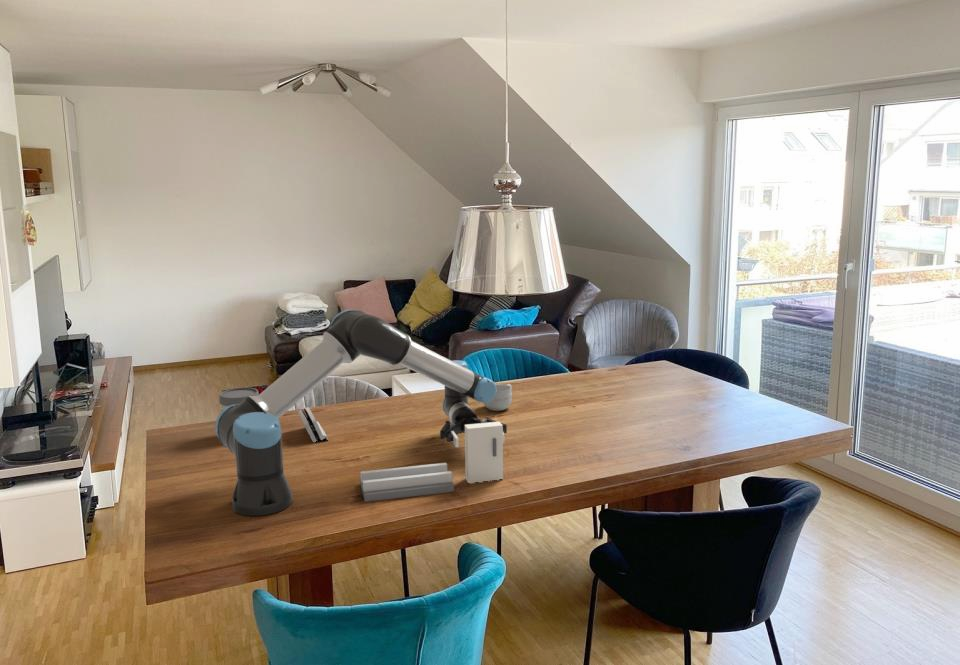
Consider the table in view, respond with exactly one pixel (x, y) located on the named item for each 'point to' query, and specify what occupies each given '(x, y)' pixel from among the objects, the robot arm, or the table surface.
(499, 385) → the teacup
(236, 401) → the reusable coffee cup
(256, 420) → the robot arm
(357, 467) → the table surface
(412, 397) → the table surface
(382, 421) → the table surface
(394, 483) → the track
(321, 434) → the white and black console
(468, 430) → the door panel
